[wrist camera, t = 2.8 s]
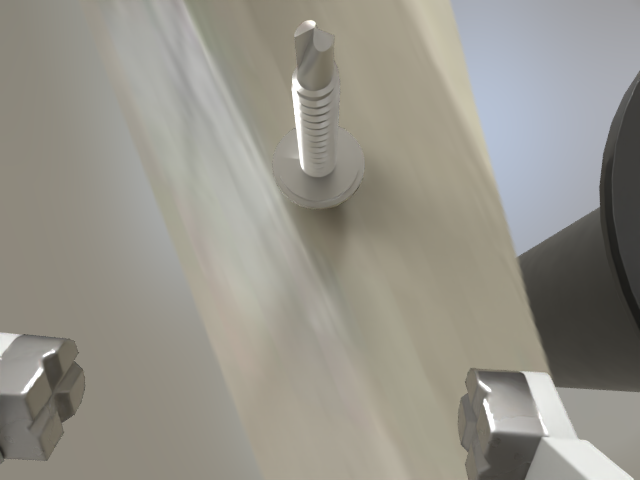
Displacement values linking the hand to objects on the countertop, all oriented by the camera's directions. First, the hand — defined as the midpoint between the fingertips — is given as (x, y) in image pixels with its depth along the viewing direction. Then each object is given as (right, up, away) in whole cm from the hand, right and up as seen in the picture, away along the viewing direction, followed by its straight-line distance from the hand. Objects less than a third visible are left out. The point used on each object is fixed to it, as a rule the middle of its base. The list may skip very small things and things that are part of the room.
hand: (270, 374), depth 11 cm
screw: (+1, +6, +18) cm, 19 cm away
